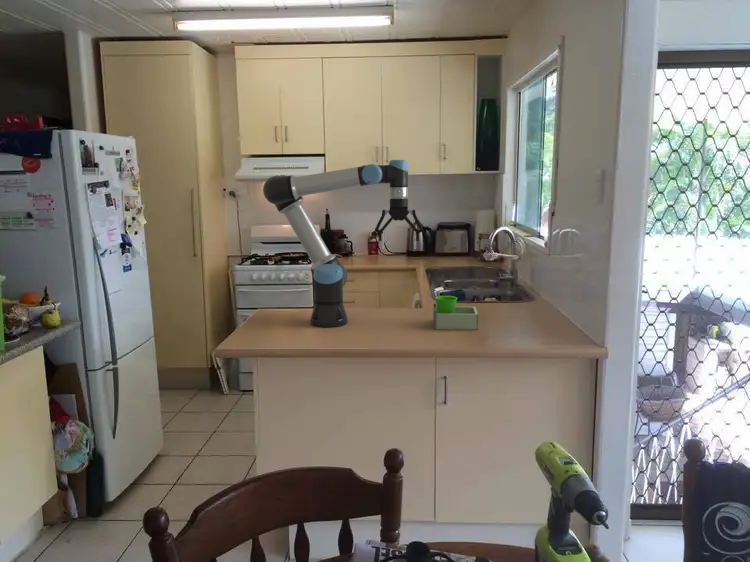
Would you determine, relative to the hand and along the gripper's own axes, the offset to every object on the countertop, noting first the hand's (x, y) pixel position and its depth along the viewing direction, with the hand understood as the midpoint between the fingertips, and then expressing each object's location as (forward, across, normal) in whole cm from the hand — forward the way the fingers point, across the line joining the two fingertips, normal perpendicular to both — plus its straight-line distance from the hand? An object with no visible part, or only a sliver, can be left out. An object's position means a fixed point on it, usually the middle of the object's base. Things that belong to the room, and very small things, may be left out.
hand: (398, 249), depth 247 cm
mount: (+29, +23, -15) cm, 40 cm away
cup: (+29, +19, -15) cm, 38 cm away
